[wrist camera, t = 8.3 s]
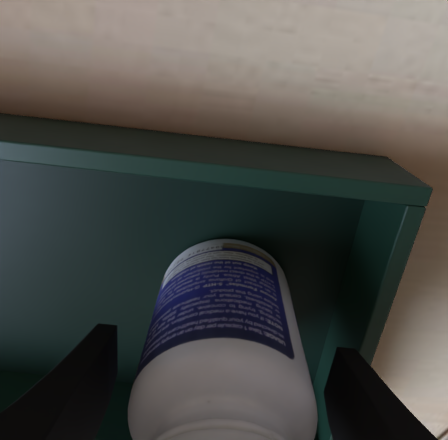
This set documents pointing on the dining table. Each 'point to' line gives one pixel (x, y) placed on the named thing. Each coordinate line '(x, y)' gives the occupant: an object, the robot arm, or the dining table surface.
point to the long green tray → (187, 240)
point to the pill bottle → (223, 352)
